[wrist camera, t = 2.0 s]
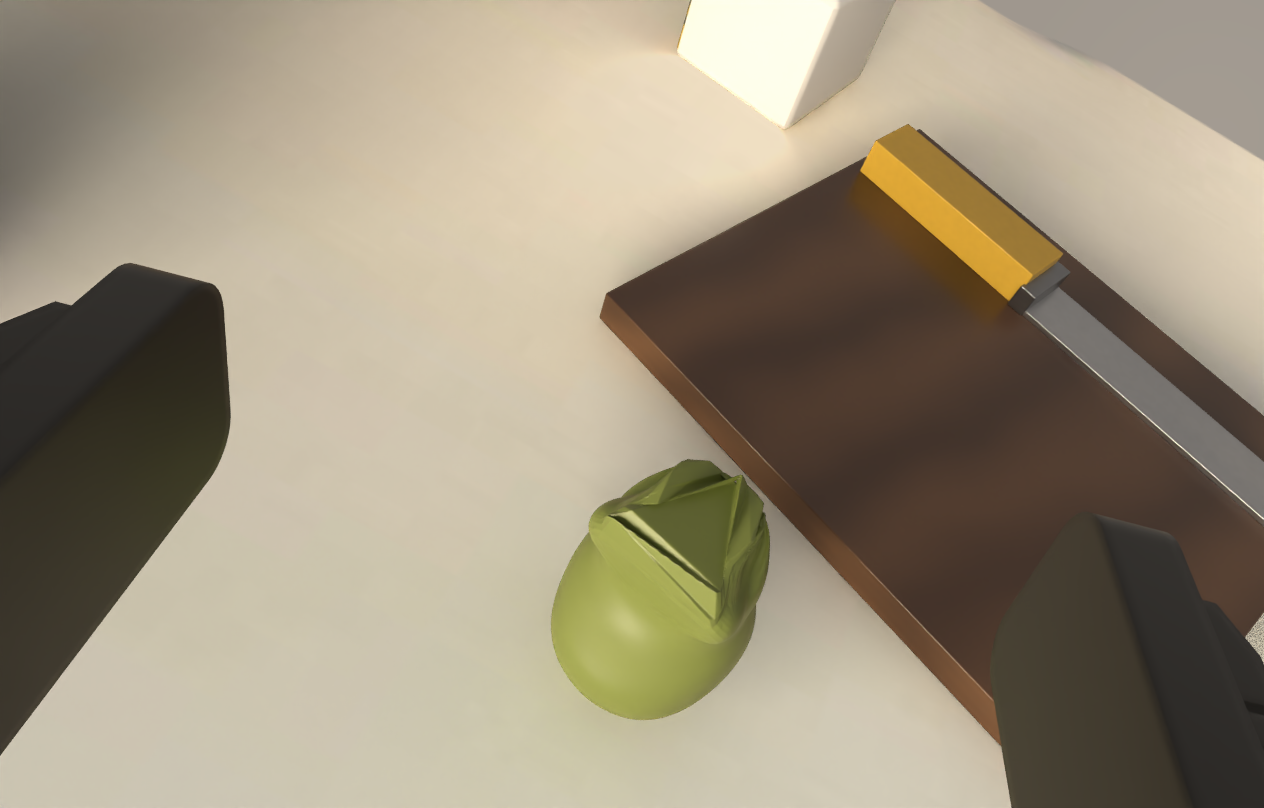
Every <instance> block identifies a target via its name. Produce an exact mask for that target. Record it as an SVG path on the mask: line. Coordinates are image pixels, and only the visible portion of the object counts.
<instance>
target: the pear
mask: <svg viewBox="0 0 1264 808" xmlns="http://www.w3.org/2000/svg"><path fill="white" fill-rule="evenodd" d="M739 476H741V477H739ZM738 478H739V479H738ZM736 480H737V481H736ZM735 481H736V482H737V483H735ZM763 505H764V503H763V501H762V500H761V499H760V498H759V497H758V495H757V494H756V493H755V492H754V491H753V490H752V489H751V488H750V487H749V486H748V485H747V483H746V481H745V479H744V477H743V475H738V476H735V477H731V476H729V475H727V474H726V473H723V472H722V470H720V469H719V468H718V467H717V466H716V465H714V464H713V463H712V462H710V461H703V460H690V459H687V460H685V461H682V462H680V463H679V464H677V466H675V467H672V468H669V469H666V470H663V471H661V472H658V473H656V474H654V475H651V476H649V477H647V478H645V479H644V480H642V481H640V482H639V483H637V484H636V485H634V486H633V487H632V488H631V489H629V490H628V491H627V492H626V493H625V494H624V495H623V496H622V497H621V498H617V499H614V500H611V501H608V502H606V503H605V504H603V505H601V506H600V507H599V508H598V509H597V510H596V511H595V512H594V513H593V515H592V516H591V519H590V521H589V533H588V534H587V535H586V536H585V538H584V539H583V540H582V542H581V543H580V545H579V546H578V548H577V549H576V551H575V553H574V555H573V556H572V558H571V560H570V562H569V564H568V566H567V568H566V570H565V572H564V575H563V577H562V579H561V582H560V585H559V587H558V590H557V593H556V596H555V600H554V604H553V610H552V618H551V633H552V641H553V645H554V649H555V652H556V655H557V658H558V660H559V662H560V665H561V667H562V668H563V670H564V672H565V673H566V675H567V677H568V678H569V679H570V681H571V682H572V683H573V685H574V686H575V687H576V688H577V689H578V690H579V691H580V692H581V693H582V694H583V695H584V696H585V697H586V698H587V699H589V700H590V701H591V702H593V703H594V704H596V705H597V706H599V707H600V708H602V709H604V710H606V711H608V712H610V713H613V714H615V715H618V716H621V717H625V718H629V719H636V720H651V719H658V718H663V717H666V716H669V715H672V714H675V713H677V712H680V711H682V710H684V709H686V708H687V707H689V706H691V705H693V704H694V703H696V702H697V701H699V700H700V699H701V698H703V697H704V696H705V695H707V694H708V693H709V692H710V691H711V690H713V689H714V688H715V687H716V686H717V685H718V684H719V683H720V682H721V681H722V680H723V679H724V678H725V677H726V676H727V675H728V674H729V673H730V671H731V670H732V669H733V668H734V666H735V665H736V664H737V662H738V661H739V659H740V658H741V656H742V655H743V653H744V651H745V649H746V647H747V645H748V643H749V641H750V638H751V635H752V632H753V628H754V623H755V616H756V603H757V601H758V599H759V597H760V595H761V592H762V589H763V587H764V584H765V580H766V576H767V572H768V565H769V552H770V536H769V529H768V525H767V522H766V519H765V517H766V515H765V513H763V512H762V511H763V507H764V506H763Z"/></svg>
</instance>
